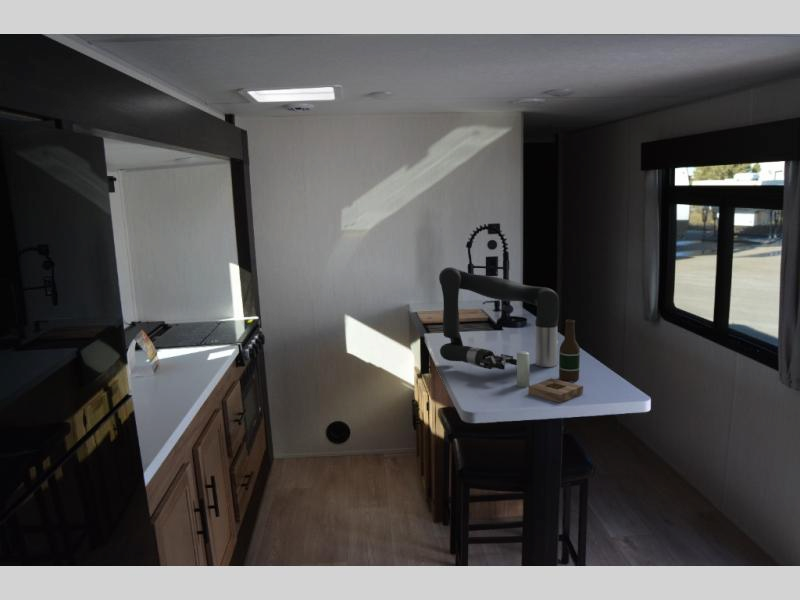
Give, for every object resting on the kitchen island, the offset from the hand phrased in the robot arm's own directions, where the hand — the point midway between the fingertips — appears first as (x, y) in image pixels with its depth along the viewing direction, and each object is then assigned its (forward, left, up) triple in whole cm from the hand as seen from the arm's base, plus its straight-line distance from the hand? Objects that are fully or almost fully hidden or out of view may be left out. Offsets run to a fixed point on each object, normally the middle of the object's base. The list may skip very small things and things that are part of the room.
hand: (511, 364), depth 241 cm
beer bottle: (-19, +14, -7) cm, 25 cm away
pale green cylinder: (0, +6, -7) cm, 9 cm away
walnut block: (0, +21, -7) cm, 22 cm away
